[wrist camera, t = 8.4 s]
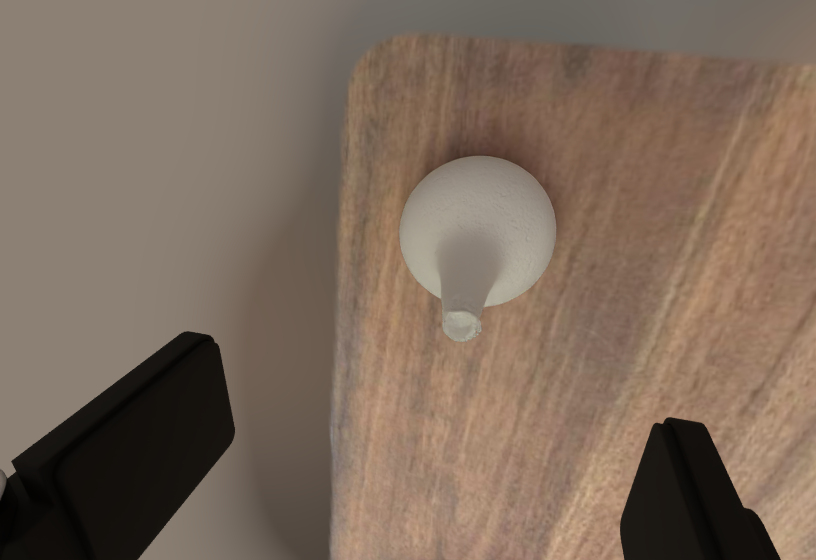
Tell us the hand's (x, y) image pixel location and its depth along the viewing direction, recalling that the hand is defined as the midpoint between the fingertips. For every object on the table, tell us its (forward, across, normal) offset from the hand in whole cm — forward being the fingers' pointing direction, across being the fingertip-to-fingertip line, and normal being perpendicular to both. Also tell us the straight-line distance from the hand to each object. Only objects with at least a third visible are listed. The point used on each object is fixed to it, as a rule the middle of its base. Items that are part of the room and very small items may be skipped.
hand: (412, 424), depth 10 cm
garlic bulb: (+12, 0, -1) cm, 12 cm away
